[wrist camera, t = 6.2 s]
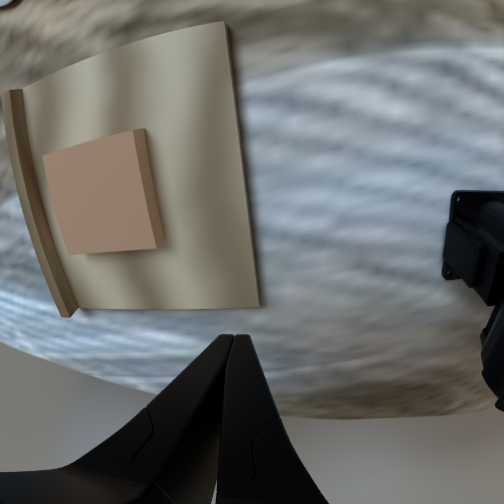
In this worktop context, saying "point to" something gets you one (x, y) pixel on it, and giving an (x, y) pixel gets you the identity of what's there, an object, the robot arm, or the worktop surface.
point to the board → (162, 168)
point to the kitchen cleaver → (5, 2)
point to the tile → (105, 195)
